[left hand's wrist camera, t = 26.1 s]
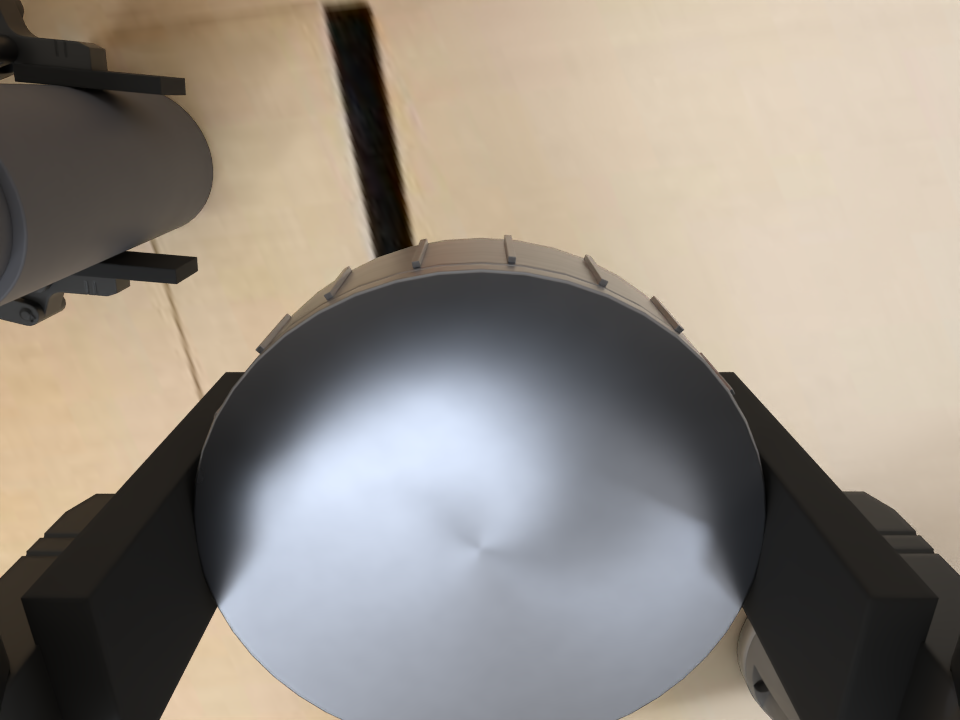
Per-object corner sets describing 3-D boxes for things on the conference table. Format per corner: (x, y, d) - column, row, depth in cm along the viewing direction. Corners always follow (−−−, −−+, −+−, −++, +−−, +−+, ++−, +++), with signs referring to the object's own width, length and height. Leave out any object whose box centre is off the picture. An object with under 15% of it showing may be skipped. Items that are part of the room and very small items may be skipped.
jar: (55, 192, 39) (-296, 273, 22) (93, 58, 37) (-271, 25, 19) (187, 255, 41) (-40, 379, 23) (233, 130, 38) (16, 162, 20)
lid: (296, 679, 14) (266, 773, 12) (172, 268, 11) (105, 308, 9) (721, 638, 14) (761, 730, 12) (725, 199, 10) (782, 223, 9)
